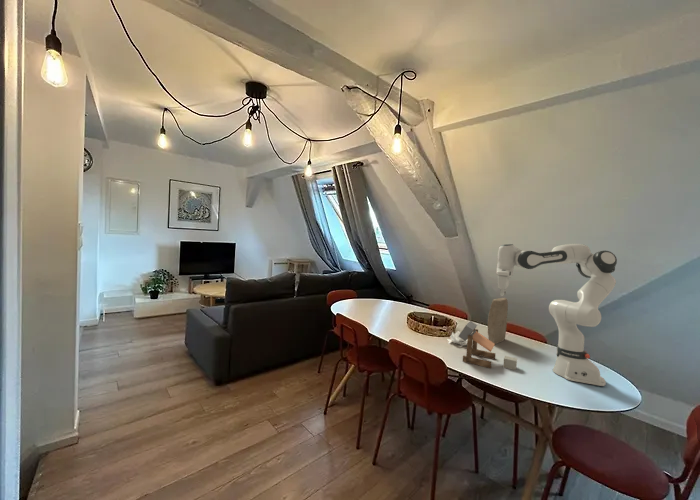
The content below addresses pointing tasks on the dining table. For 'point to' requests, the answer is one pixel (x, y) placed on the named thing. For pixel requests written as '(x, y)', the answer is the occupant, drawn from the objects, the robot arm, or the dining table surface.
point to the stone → (510, 363)
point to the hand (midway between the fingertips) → (503, 295)
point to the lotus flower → (457, 339)
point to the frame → (477, 353)
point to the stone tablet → (497, 320)
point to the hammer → (476, 336)
